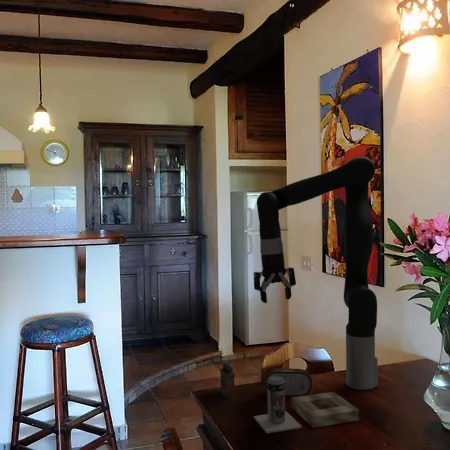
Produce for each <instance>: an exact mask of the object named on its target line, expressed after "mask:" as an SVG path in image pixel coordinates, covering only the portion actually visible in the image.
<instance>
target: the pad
mask: <svg viewBox="0 0 450 450" xmlns="http://www.w3.org/2000/svg"><path fill="white" fill-rule="evenodd" d="M253 419H254V420H255V421H256V422H257V423H258V425H259V426H260V427H261V428H262V429H263V430H264V432H265V433H266V434H272V433H278V432H284V431H285V432H286V431H290V430H291V431H292V430H296V429H302V425H301V423H299V422H298V421H297V420H296V419H295V418H294V417H292V415H291V414H290V413H289V412H287V411H286V410H285V421H283V422H282V423H278V424H276V423H272V422H270V421H269V420H268V413H266V414H259V415H254V416H253Z"/></svg>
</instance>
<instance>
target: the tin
mask: <svg viewBox="0 0 450 450" xmlns="http://www.w3.org/2000/svg"><path fill="white" fill-rule="evenodd" d="M270 376H281V377H283V379H284V381H285V397H300V396H307V395H308V394H309V393H310V392H311V391H312V387H313V378H312V376H311V374H310V373H309V372H308V371H307V370H305V369H302V368H285V367H284V368H283V367H275V368H271V369H269V371H267V372H266V374H265V376H264V387H265V389H266V390H267V381H268V379H269V377H270Z"/></svg>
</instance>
